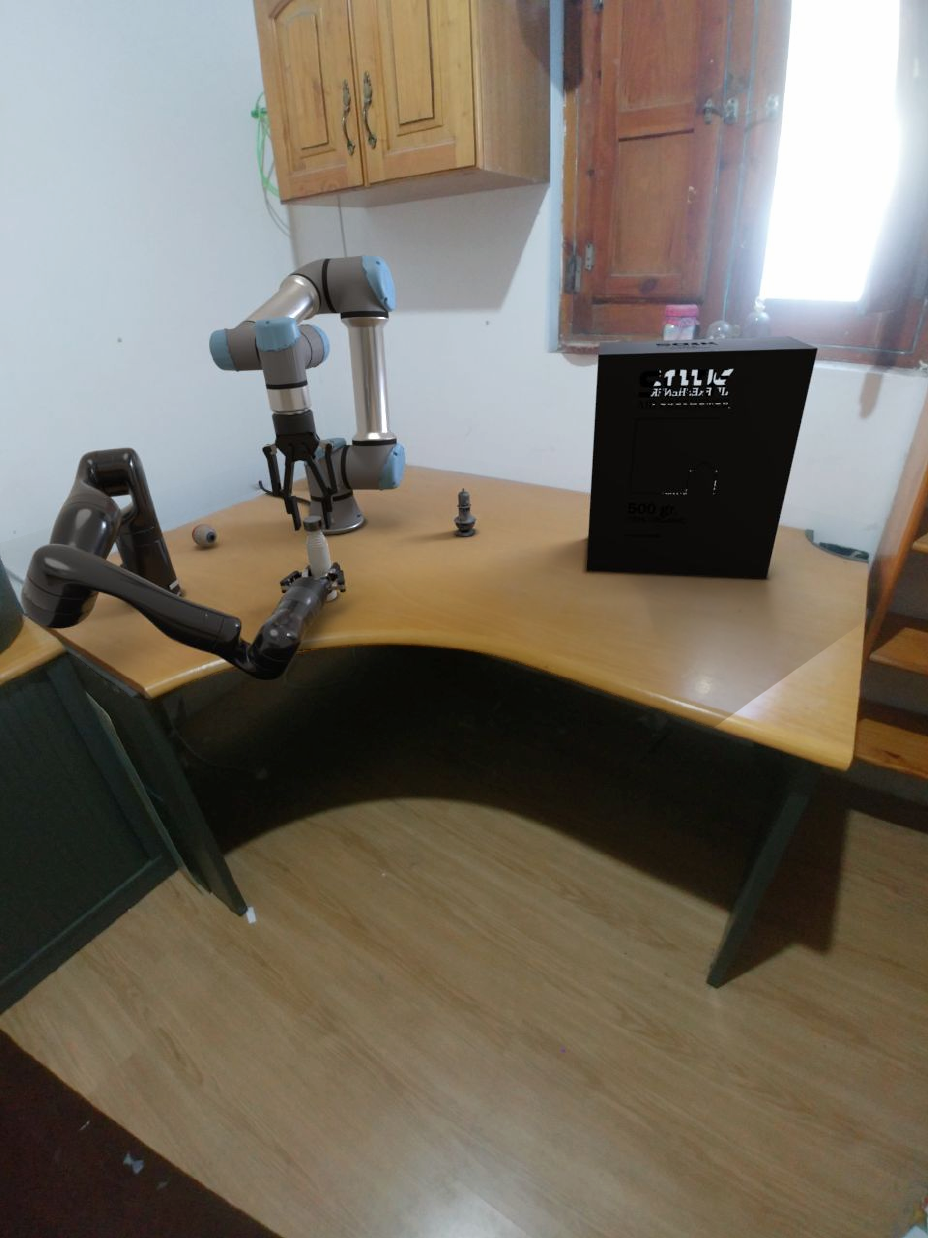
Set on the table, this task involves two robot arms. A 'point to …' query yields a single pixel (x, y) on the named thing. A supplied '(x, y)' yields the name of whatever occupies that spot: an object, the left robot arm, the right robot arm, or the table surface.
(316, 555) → the bottle
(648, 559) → the cardboard box
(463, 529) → the salt shaker
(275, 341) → the right robot arm
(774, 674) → the table surface
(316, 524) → the cap
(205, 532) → the eyeball
